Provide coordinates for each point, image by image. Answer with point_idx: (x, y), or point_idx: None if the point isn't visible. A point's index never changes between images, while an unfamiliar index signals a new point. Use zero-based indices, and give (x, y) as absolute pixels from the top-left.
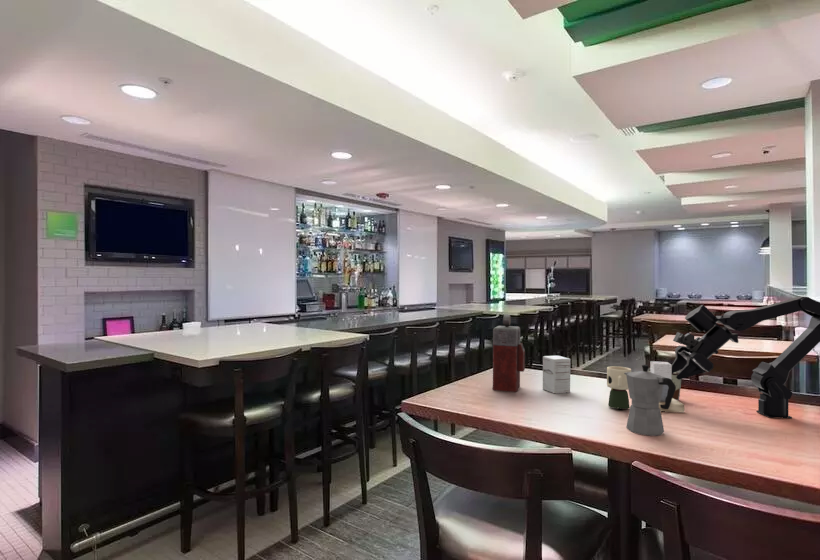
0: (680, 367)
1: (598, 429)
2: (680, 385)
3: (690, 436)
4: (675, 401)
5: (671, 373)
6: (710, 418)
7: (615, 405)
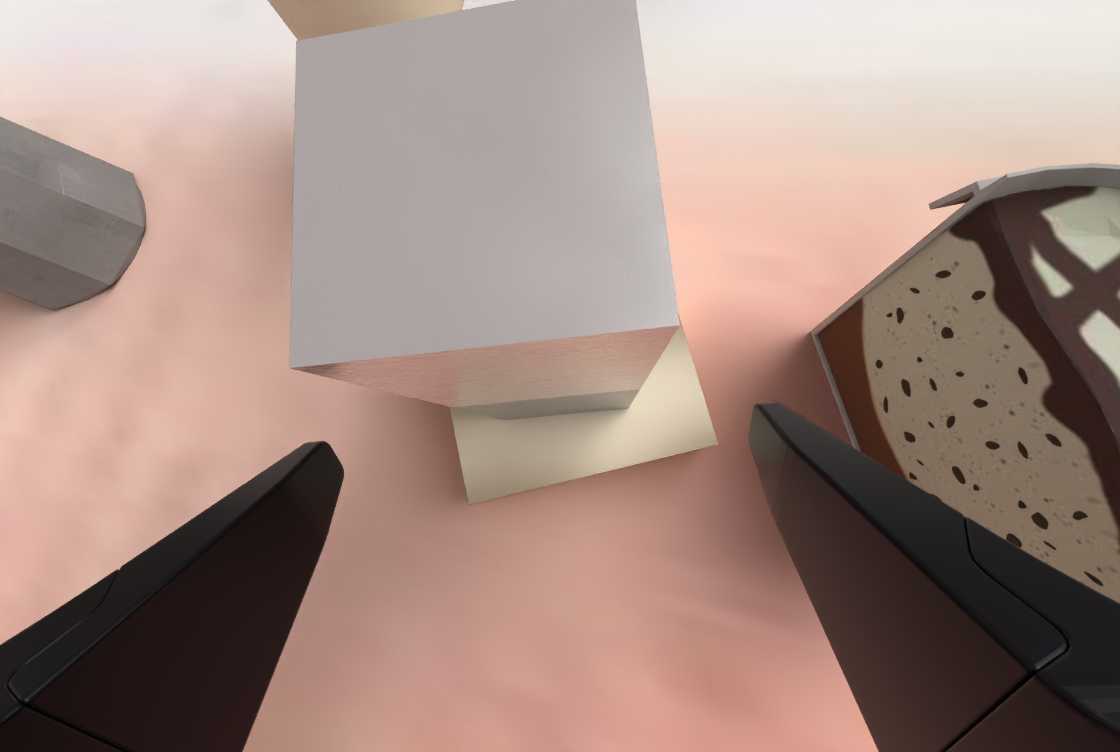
0: (856, 656)
1: (60, 55)
2: None
3: (25, 421)
4: (546, 456)
5: (393, 392)
6: (389, 635)
7: None
